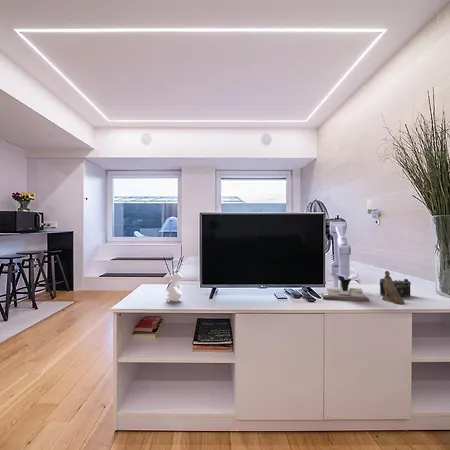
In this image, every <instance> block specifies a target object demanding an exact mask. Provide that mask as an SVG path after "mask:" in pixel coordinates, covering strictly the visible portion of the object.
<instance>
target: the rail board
mask: <svg viewBox="0 0 450 450" xmlns="http://www.w3.org/2000/svg"><path fill="white" fill-rule="evenodd" d="M321 297H323V298H322V299H324V301H325V300H326V301H330V300H331V301H343V302H344V301H346V302H347V301H349V302H350V301H351V302H370V299H369V297H368V296H367V295H366V294H363V289H362V288H359V287H348V294H339V289H338V287H331V286H326V292H321Z"/></svg>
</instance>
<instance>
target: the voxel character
mask: <svg viewBox="0 0 450 450" xmlns="http://www.w3.org/2000/svg"><path fill="white" fill-rule="evenodd" d="M169 277H170V281H171V283H170V284H169V286H168V287H167V288H166V289H165V290H166V292H168V294H167V298H166V299H165V301H166V302H168V303H170V302H171V301H174V302H176V303H177V302H178V301H179V300H180V298H181V296H182V295H183V292H182V291H181V290H180V289H178V288H177V287H176V285H177V284H178V282H181V280H182V279H183V278H184V276H183V275H182V274H181V273H179V272H175V273H174V274H170V275H169Z"/></svg>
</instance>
